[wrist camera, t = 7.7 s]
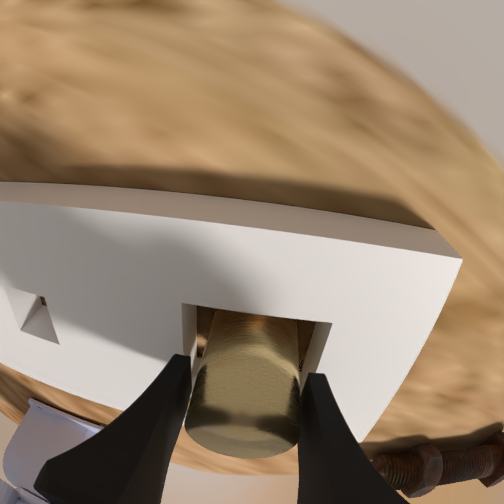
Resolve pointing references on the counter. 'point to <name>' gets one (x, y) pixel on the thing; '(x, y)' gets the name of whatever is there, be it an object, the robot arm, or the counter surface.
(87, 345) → the fitting plate
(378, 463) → the bolt
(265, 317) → the brass cylinder
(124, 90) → the counter surface
